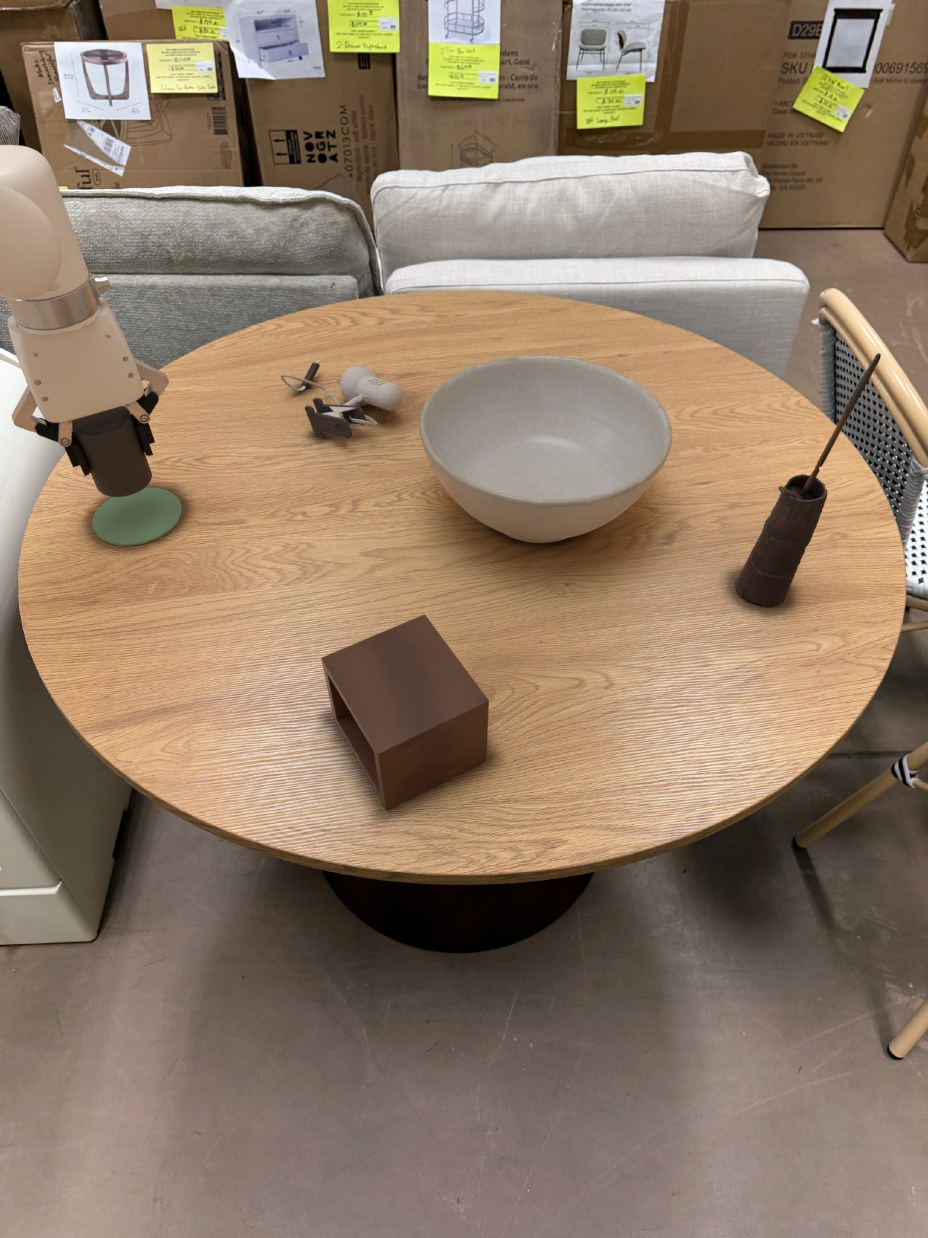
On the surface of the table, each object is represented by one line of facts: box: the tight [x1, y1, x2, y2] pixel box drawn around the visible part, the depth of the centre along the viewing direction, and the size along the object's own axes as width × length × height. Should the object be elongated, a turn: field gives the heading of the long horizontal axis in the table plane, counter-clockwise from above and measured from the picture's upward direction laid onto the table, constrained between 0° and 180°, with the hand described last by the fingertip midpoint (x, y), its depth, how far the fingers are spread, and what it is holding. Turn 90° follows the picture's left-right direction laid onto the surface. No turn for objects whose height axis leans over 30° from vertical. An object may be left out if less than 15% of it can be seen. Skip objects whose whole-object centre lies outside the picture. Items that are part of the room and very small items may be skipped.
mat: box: [91, 486, 183, 547], centre depth 94 cm, size 10×10×1 cm
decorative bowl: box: [418, 354, 673, 544], centre depth 91 cm, size 27×27×12 cm
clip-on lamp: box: [279, 359, 403, 439], centre depth 107 cm, size 12×6×18 cm
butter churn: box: [734, 352, 882, 608], centre depth 76 cm, size 9×10×28 cm
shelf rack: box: [320, 613, 490, 811], centre depth 71 cm, size 10×11×9 cm
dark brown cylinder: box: [72, 405, 153, 498], centre depth 88 cm, size 6×6×8 cm
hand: (115, 457), depth 88 cm, fingers closed on dark brown cylinder, 6 cm apart
